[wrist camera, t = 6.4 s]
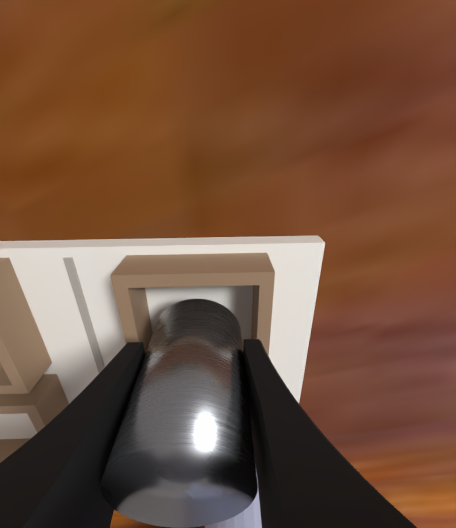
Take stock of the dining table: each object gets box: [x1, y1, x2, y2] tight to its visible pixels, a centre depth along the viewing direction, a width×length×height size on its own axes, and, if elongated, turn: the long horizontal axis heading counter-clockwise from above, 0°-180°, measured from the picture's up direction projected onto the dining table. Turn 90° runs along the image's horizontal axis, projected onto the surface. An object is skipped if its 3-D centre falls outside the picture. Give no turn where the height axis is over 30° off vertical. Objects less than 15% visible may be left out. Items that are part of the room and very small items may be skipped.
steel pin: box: [101, 299, 258, 528], centre depth 9 cm, size 4×4×6 cm
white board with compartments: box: [0, 236, 325, 466], centre depth 13 cm, size 15×24×7 cm, turn 91°
